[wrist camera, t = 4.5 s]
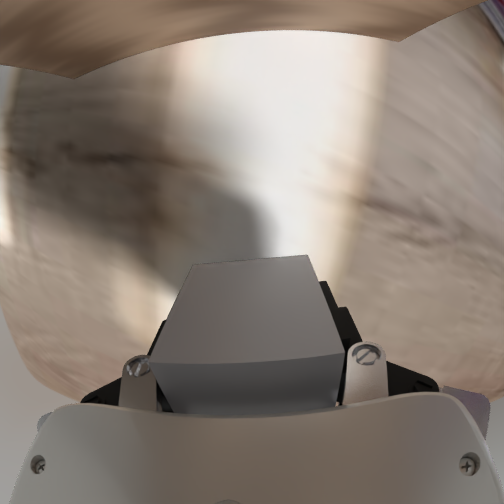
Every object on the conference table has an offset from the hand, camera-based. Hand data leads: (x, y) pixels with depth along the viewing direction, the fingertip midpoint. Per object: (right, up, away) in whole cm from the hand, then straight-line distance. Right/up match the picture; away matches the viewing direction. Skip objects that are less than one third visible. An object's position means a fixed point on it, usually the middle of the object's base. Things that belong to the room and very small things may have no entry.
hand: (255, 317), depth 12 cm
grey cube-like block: (0, 0, +1) cm, 1 cm away
